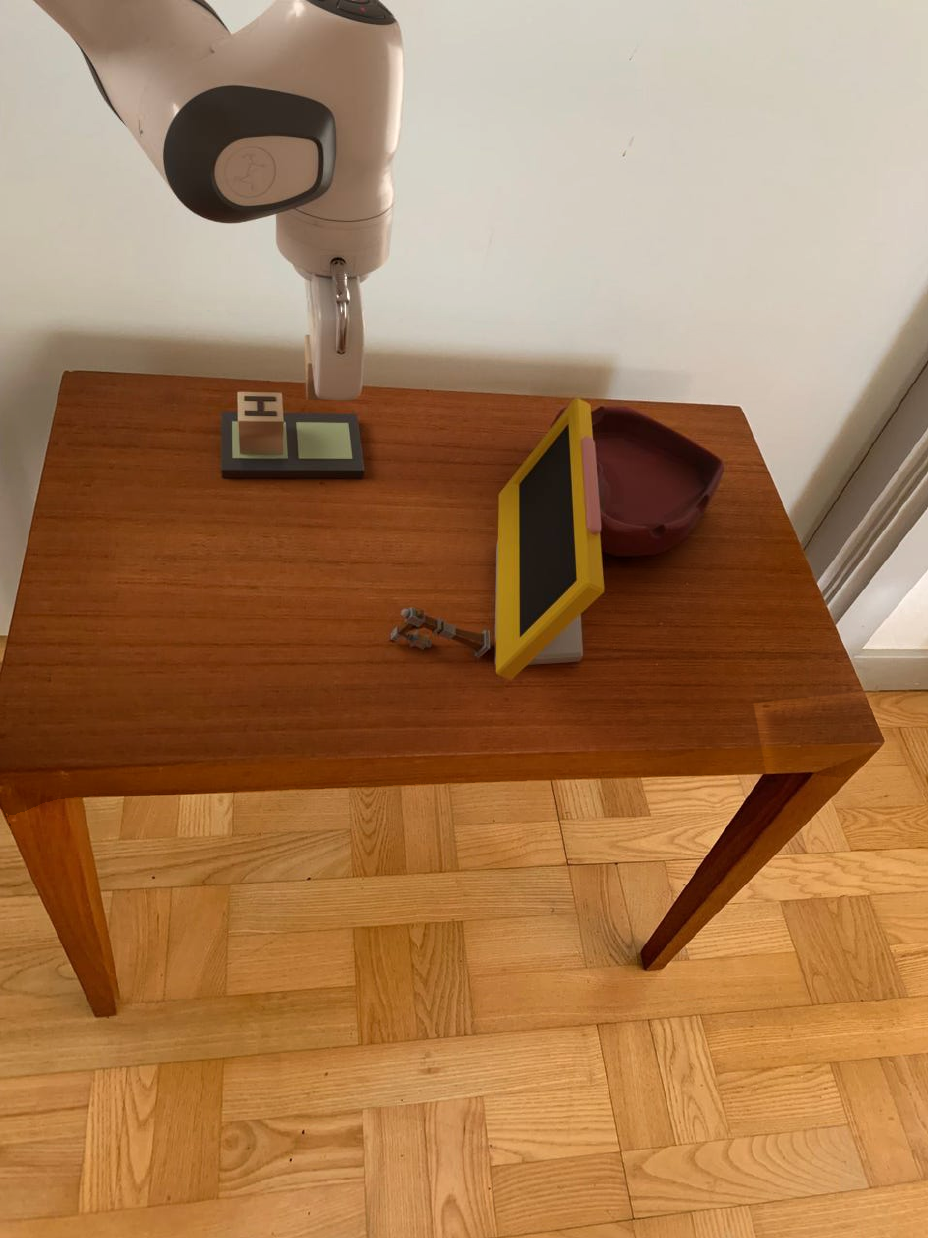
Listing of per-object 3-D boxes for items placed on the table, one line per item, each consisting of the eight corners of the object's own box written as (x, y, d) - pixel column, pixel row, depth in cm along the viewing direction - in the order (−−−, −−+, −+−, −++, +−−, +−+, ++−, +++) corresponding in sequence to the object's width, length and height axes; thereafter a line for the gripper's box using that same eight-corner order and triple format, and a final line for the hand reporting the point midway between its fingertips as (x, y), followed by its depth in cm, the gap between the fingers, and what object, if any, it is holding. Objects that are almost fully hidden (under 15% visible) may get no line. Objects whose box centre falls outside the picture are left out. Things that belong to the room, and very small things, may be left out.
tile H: (239, 454, 85) (237, 419, 82) (239, 424, 88) (237, 390, 85) (283, 454, 86) (283, 420, 83) (282, 425, 89) (282, 391, 85)
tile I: (306, 400, 82) (307, 362, 78) (304, 371, 84) (305, 333, 81) (352, 401, 83) (354, 363, 79) (348, 372, 85) (350, 334, 82)
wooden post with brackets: (379, 626, 76) (407, 597, 73) (461, 655, 80) (491, 628, 77) (378, 644, 75) (406, 615, 72) (461, 673, 79) (491, 646, 76)
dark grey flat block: (221, 478, 85) (221, 469, 84) (221, 419, 89) (221, 410, 89) (363, 478, 88) (364, 469, 87) (356, 421, 92) (357, 412, 91)
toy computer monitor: (491, 519, 87) (526, 385, 75) (573, 530, 88) (621, 399, 75) (487, 698, 75) (528, 574, 62) (582, 709, 75) (641, 588, 63)
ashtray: (741, 564, 88) (763, 528, 85) (582, 574, 84) (596, 537, 81) (678, 436, 99) (695, 399, 95) (533, 440, 95) (544, 402, 91)
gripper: (389, 308, 66) (374, 453, 77) (363, 161, 78) (353, 304, 89) (299, 305, 64) (297, 452, 75) (287, 155, 76) (286, 301, 87)
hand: (327, 371), depth 82 cm, fingers closed on tile I, 4 cm apart
